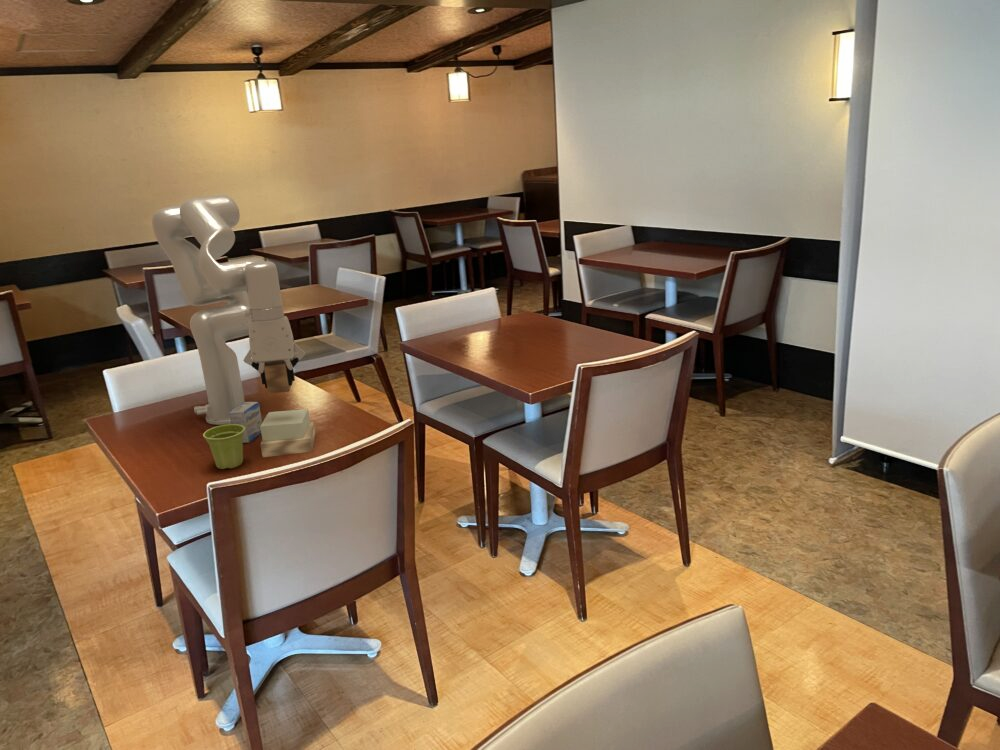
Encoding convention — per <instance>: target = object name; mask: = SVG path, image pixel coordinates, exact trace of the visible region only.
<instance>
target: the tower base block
mask: <svg viewBox="0 0 1000 750" xmlns="http://www.w3.org/2000/svg"><path fill="white" fill-rule="evenodd" d="M316 435H317V434H316V426H315V421H310V425H309V427H308V429H307V432H306V434H305V436H304V438H298V439H286V440H274V441H263V440H262V439H261V442H260V450H261V451H260V452H261V455H262V458H269V457H277V456H285V455H293V454H303V453H312V452H313V450H314V445H315V441H316Z"/></svg>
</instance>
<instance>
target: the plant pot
mask: <svg viewBox="0 0 1000 750" xmlns="http://www.w3.org/2000/svg"><path fill="white" fill-rule="evenodd" d="M244 431H245V427H244V426H242V425H238V424H224V425H216V426H213V427H211V428H209V429H206V431H205V432H204V433H203V434H202V436H203V438H204V439H205V440H206V443H207V444H208V446H209V449H210V452H211V454H212V457H213V460H214V463H215V466H216V468H217V469H220V470H226V469H234V468H237V467H239V466H241V465H242V464H243V462H244V452H243V450H244V448H243V447H244V445H243V444H244V443H243V432H244Z"/></svg>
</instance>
